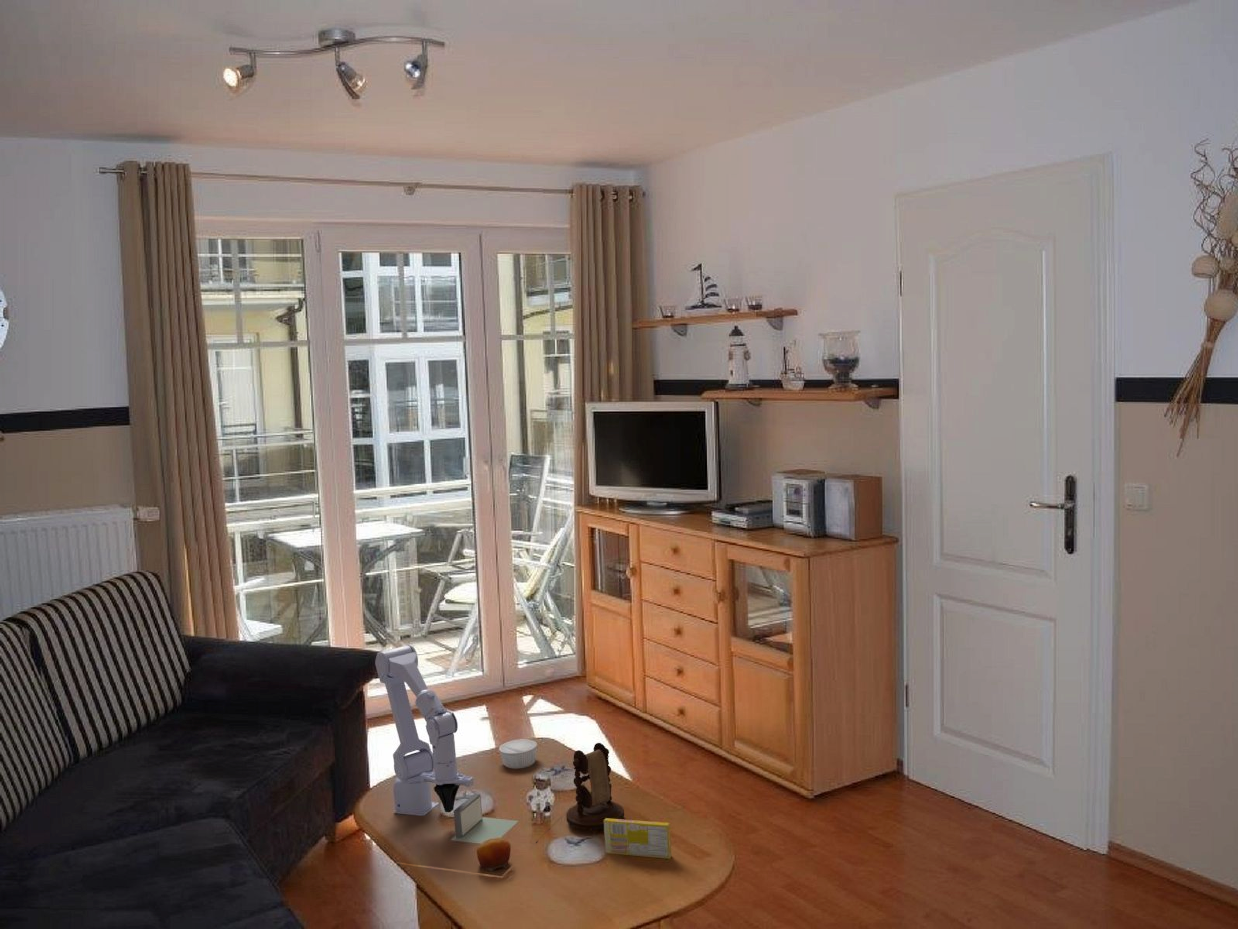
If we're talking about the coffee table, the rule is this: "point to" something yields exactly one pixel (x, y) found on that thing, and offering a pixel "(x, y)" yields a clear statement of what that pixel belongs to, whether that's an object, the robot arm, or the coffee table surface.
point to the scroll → (593, 791)
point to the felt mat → (487, 830)
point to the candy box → (637, 838)
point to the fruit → (494, 853)
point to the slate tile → (468, 815)
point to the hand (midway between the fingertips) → (449, 810)
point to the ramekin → (518, 753)
